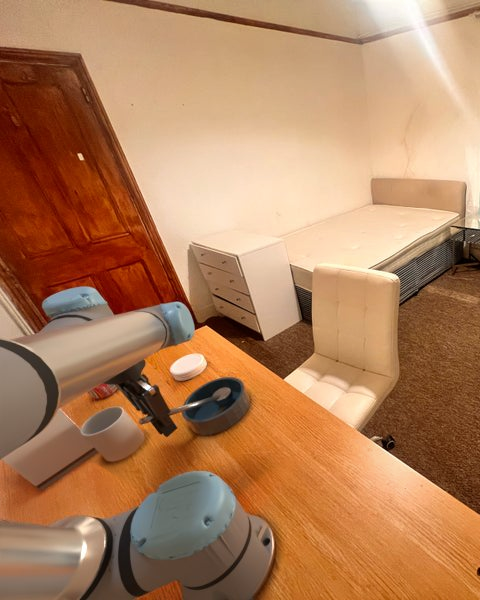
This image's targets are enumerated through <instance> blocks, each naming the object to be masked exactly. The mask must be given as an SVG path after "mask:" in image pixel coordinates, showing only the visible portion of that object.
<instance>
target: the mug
mask: <svg viewBox="0 0 480 600" xmlns="http://www.w3.org/2000/svg"><path fill="white" fill-rule="evenodd" d="M80 429H81V430H80V433H81V435H82V436H83V437H84V438H85V439H86V440H87V441H88V442H89V443H90V444H91V445H92V446H93V447H94V448H95V449H96V450H97V451H98V454H100V456H102V458H103V459H104V460H105V461H107V462H110V463H113V462H118V461H121V460H123V459H126V458H128V457H129V456H131V455H132V454H134V453H135V452H136V451H137V450H138V449H139V448H140V447H141V446H142V445H143V443H144V441H145V439H146V436H145V433H144V432H143V431H142V430H141V428H140V427H139V426H138V425H137V424H136V422H135V421H134V420H133V418H132V417H131V416H130V415H129V414H128V413H127V411H126V410H125V408H123V407H122V406H115V405H114V406H110V407H107V408H104V409H102V410H100V411H98V412H96V413H94V414H93V415H91V416H90V417H88V419H86V420H85V421H84V422H83V424H82V425H81V426H80Z"/></svg>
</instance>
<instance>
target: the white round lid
mask: <svg viewBox="0 0 480 600" xmlns="http://www.w3.org/2000/svg"><path fill="white" fill-rule="evenodd" d="M207 366H208V362H207V360H206V358H205V357H204V355H203V354H201V353H190V354H186V355H184V356H182V357H180V358H178V359H177V360H175V361H174V362H173V363H172V365H171V366H170V368H169V372H170V374H171V376H172V377H173V379H174V380H176V381H178V382H184V381H189V380H191V379H194V378H196V377H197V376H199V374H201V373H202V372H204V371H205V370H206V368H207Z"/></svg>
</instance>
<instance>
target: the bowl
mask: <svg viewBox="0 0 480 600" xmlns="http://www.w3.org/2000/svg"><path fill="white" fill-rule="evenodd" d="M224 387H227V388H230V390H231V392H232V394H233V397H232V399H231V400H230V401H229V402H228V403H226V404H224V405H216V404H215V402H211V403H208V404H205V405H202V406H199V407H196V408H193V409H189V410H186V411H183V412H181V416H182V418H183V419H184V421H185V423H187V426H188V428H189V429H190V430H191V431H192V432H193V433H195V434H197V435H198V436H212V435H217V434H220V433H222V432H225V431H226V430H229V429H230V428H231V427H233V426H234V425H236V424H237V423H238V422H240V421H241V419H242V418H243V417H244V416H245V415H246V413H247V412H248V410H249V407H250V405H251V397H250V395H249V393H248V391H247V389H246V387H245V385H244V383H243V381H242V380H240V378H237V377H233V376H225V377H218V378H215V379H213V380H210V381H207V382H205V383H204V384H202V385H201V386H199V387H198V388H196V389H195V390H193V392H191V394H189V395H188V396H187V398H186V399H185V401H184V403H183V404H182V406H184V405H187V404H190V403H193V402H197V401H200V400H203V399H207V398H210V397H212V396H213V394H214V393H215V392H216V391H217V390H219V389H221V388H224Z"/></svg>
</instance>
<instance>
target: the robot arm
mask: <svg viewBox="0 0 480 600" xmlns="http://www.w3.org/2000/svg"><path fill="white" fill-rule="evenodd" d="M41 308H42V310H43V312H44V313H45V316H46V317H48V318H49V321H48V322H47V323H46V324H45V326H44V327H42V329H40V331H38V332H36V333H32V334H27V335H22V336H18V337H14V338H10V339H9V338H8V339H7V338H3V337H0V461H2V460H1V459H2V458H4V457H5V456H7V455H8V454H10V453H11V452H13V451H14V450H16V449H17V448H19V447H20V446H22V445H24V444H25V443H27V442H28V441H30V440H31V439H33V438H34V437H35V436H37V435H38V434H40V433H41V432H42V431H43V430H44V429H45V428H46V427H47V426H48V425H49V423H50V422H51V421H52V419H53V418H54V416H55V415H56V413H57V410H58V409H59V408H60V409H62V408H63V407H65V406H67V405H68V404H70V403H71V402H73V401H75V400H77V399H78V398H80V397H81V396H83V395H85V394H88V392H89V391H90V390H92V389H94V388H95V387H97V386H99V385H101V384H102V383H104V384H107V385H115V386H116V387H117V390H119V391H120V392H121V394H122V395H123V396H124V397H125V398H126V399H127V401H128V402H129V403H130V404H131V405H132V406H133V407H134V409H135V410H136V411H138V412H141V414H142V415H145V417H148V416H152V417H153V418H152V419H151V420H150V421H151V422H150V424H151V425H152V427H154V429H155V430H156V431H157V433H158V434H159V435H161V436H162V435H163V436H164V437H165V438H168V437H169V436H171V434H173V433H174V432H175V431H176V430H177V429H178V426H177V425H176V424H175V422H174V420H173V419H172V418H171V416H169V415H168V414H169V413H170V412H171V411H170V410H171V409H170V407H169V406H168V403H167V402H166V400H165V398H164V397H163V394H162V393H161V390H160V388H159V387H160V386H159V385H157V384H153V385H152V384H151V383H150V382H149V378H148V376H147V375H146V374H144V373H143V370H144V369H145V368H146V365H147V364H146V363H147V362H146V360H145V359H147V358H148V357H151V356H152V355H154V354H155V353H157V352H159V351H161V350H164V349H167V348H170V347H177V346H178V345H181V344H184V343H187V342H190V341H191V340H192V339H193V338H194V336H195V330H196V329H195V323H194V319H193V316H192V314H191V312H190V310H189V308H188V307H187V306H186V304H184V303H183V302H180V301H173V302H167V303H159V304H158V305H157V304H156V305H152V306H149V307H144V308H140V309H135V310H132V311H127V312H122V313H119V314H114V313H113V311H112V309H111V308H110V306H109V305H108V301H106V300H105V299H104V297H103V296H102V295H101V294H100V292H99V291H98V290H97V289H96V288H94V287H91V286H77V287H72V288H68V289H64V290H62V291H59V292H56V293H53V294H52V295H50V296H48V297H47V298H45V299H44V300H43V301H42V302H41ZM276 545H277V544H276V540H275V535H274V532H273V529H271V527H270V525H269V524H268V522H266V520H264V519H263V518H262V517H261V516H258V515H255V514H250V513H248V512H246V511H245V508H243V506H242V505H241V503H240V502H239V499H238V498H237V497H236V495H235V494H234V491H233V490H232V488H231V486H230V485H229V484H228V483H226V482H225V481H224V480H223V479H222V478H221V477H220V476H219V475H217V474H215V473H213V472H211V471H207V470H192V471H187V472H183V473H180V474H177V475H174V476H173V477H171V478H169V479H167V480H165V481H164V482H163V483H162V482H161V484H160V485H158V486H157V490H156V491H155V492H150V493H149V494H148V495H147V496H145V498H144V499H143V501H142V502H141V503H140V504H139V506H136V507H133V508H131V509H129V510H126V511H123V512H121V513H119V514H116V515H114V516H109V517H106V518H105V517H104V518H102V517H97V516H90V515H79V514H77V515H70V516H66V517H63V518H60V519H58V520H56V521H54V522H52V523H50V524H48V525H46V524H38V523H31V522H30V523H29V522H22V521H14V520H5V519H0V600H137V599H138V598H140V597H143V596H145V595H146V594H149V593H151V592H154V591H155V590H158V589H160V588H162V587H164V586H167V585H168V584H170V583H173V582H176V581H177V582H178V583H179V584H180V587H181V596H182V597H181V598H182V600H254V599H255V598H256V597H257V596H258V594H259V593H260V592H261V590H262V589H263V587H264V586H265V584H266V582H267V580H268V579H269V577H270V574H271V571H272V568H273V566H274V562H275V559H276V558H275V557H276V547H277V546H276Z"/></svg>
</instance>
